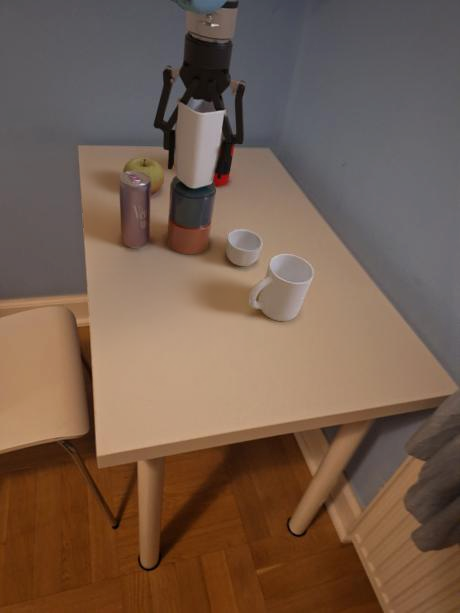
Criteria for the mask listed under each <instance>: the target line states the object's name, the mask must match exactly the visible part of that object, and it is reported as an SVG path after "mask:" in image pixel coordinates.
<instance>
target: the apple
mask: <svg viewBox="0 0 460 613" xmlns="http://www.w3.org/2000/svg"><path fill="white" fill-rule="evenodd" d="M126 171H140V172H143V173H145V174H147V175H148V176H149V177H150V182H151V195H155V193H157V192H158V191H160V190H161V188H162V186H163V185H164V183H165V172H164V170H163V168H162V166H161V165H160V164H159V163H158V162H157V161H156V160H154V159H152V158H147V157H135V158H132V159H130V160H129V161H127V162H126V163H125V165H124V167H123V169H122V173H124V172H126Z"/></svg>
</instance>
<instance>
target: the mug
mask: <svg viewBox="0 0 460 613" xmlns="http://www.w3.org/2000/svg"><path fill="white" fill-rule="evenodd" d="M314 276H315V271H314V268H313V266H312V265H311V264H310V262H308V260H306V259H304V258H303V257H301V256H299V255H295V254H291V253H280V254H276V255H275V256H273V257H271V259H270V261H269V263H268V267H267V271H266V274H265V277H264V278H262V279H261V280H260V281H258V282H257V283H256V284H255V285H254V286H253V288H252V289H251V291H250V292H249V294H248V304H249V306H250V307H251V308H253V309H257V310H261V312H262V313H263V314H264V316H266V317H268V318H269V319H271V320H274V321H279V322H287V321H290V320H293V319H294V318H296V317H297V315H298V314H299V312H300V310H301V308H302V305H303V303H304V300H305V298H306V295H307V293H308V291H309V288H310V287H311V286H310V285H311V283H312V281H313V278H314ZM258 295H259V297H258ZM257 297H258V300H257Z"/></svg>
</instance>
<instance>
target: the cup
mask: <svg viewBox="0 0 460 613" xmlns="http://www.w3.org/2000/svg"><path fill="white" fill-rule="evenodd" d="M181 98H182V96H181V97H178V98H177V99H176V106H177V105H178V104H179V105H178V120H177V121H176V123H175V125H174V130H175V156H174V162H175V173H176V174H175V176H177V178H178V179H179V180H180V181H181V182H182V183H184V184H185V185H186V186H187V187H189V188H191V189H197V188H200V187H204V186H207V185H210V184H211V183H212V181H213V178H214V175H215V171H216V168H217V164H218V160H219V156H220V151H221V146H222V141H223V136H224V135H223V131H222V125H223V118H224V114H225V117H227V116H228V107H227V106H225V105H224V110H223V111H222V110H221V111H216V109H215V108H214V105H213V102H206V101H204V100H196V99H193V97H191V99H190V100H189V102H188V103H187V105H185V104H183V103H182V102H180V100H181Z"/></svg>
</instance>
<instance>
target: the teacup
mask: <svg viewBox="0 0 460 613" xmlns="http://www.w3.org/2000/svg"><path fill="white" fill-rule="evenodd" d="M263 245H264V244H263V239H262V237H261V236H260V235H259V234H258V233H257V232H254V231H253V230H250V229H246V228H235V229H233V230H231V231H229V233H228V235H227V237H226V242H225V253H226V256H227V259H228V260H229V261H230V262H231V263H233V264H234V265H236V266H240V267H249V266H251V265H253V264H254V263H256V261H257V260H258V259H259V257H260V256H261V252H262V249H263Z"/></svg>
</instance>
